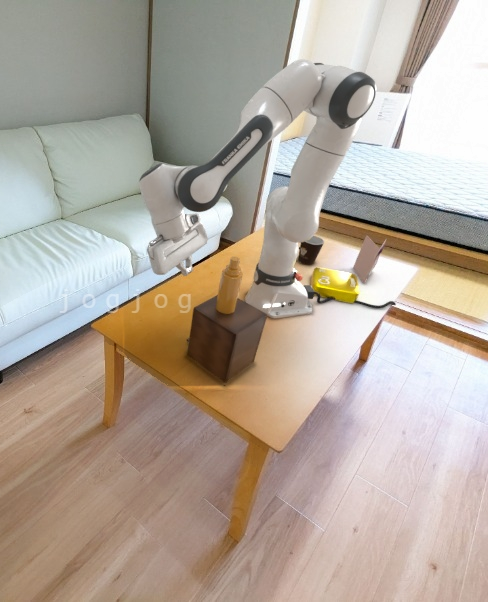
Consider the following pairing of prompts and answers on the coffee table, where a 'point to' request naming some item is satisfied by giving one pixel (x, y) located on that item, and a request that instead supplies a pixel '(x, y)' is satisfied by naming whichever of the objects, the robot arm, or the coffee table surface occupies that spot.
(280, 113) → the robot arm
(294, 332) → the coffee table surface
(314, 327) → the coffee table surface
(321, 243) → the coffee mug
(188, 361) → the coffee table surface
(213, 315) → the cabinet
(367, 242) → the greeting card
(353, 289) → the element tile
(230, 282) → the bottle
